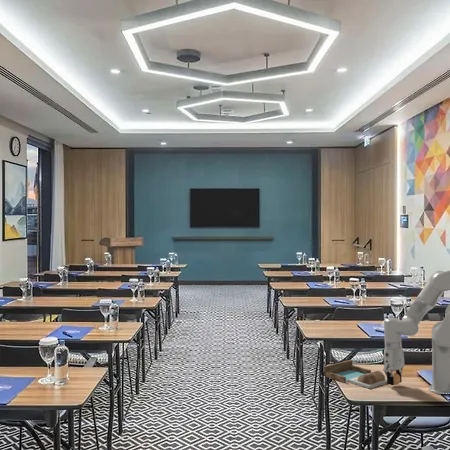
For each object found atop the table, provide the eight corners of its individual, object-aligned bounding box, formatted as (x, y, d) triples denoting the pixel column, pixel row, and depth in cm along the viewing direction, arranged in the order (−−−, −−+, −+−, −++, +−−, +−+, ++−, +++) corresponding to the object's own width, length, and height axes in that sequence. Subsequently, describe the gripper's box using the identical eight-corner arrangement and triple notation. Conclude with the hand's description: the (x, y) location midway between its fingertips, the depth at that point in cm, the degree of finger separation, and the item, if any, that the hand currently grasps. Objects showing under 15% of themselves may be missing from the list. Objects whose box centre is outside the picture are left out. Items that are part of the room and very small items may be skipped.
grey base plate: (390, 382, 244) (390, 379, 244) (369, 388, 234) (369, 385, 234) (368, 375, 254) (368, 373, 254) (347, 381, 245) (347, 379, 245)
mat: (368, 375, 255) (368, 374, 255) (345, 381, 245) (345, 381, 245) (350, 370, 264) (350, 369, 264) (327, 376, 254) (327, 375, 254)
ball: (403, 384, 238) (402, 372, 238) (396, 387, 234) (395, 375, 234) (393, 382, 242) (392, 370, 242) (385, 384, 239) (385, 372, 239)
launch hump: (385, 387, 244) (385, 372, 244) (369, 392, 237) (369, 377, 237) (373, 383, 250) (373, 369, 250) (357, 388, 242) (357, 373, 242)
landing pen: (371, 375, 256) (371, 365, 256) (344, 382, 244) (344, 372, 244) (350, 369, 266) (350, 359, 266) (324, 376, 254) (324, 366, 254)
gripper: (388, 349, 230) (390, 389, 230) (410, 343, 240) (412, 381, 240) (375, 346, 236) (376, 385, 236) (397, 340, 246) (398, 377, 246)
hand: (394, 382), depth 238 cm, fingers closed on ball, 5 cm apart
